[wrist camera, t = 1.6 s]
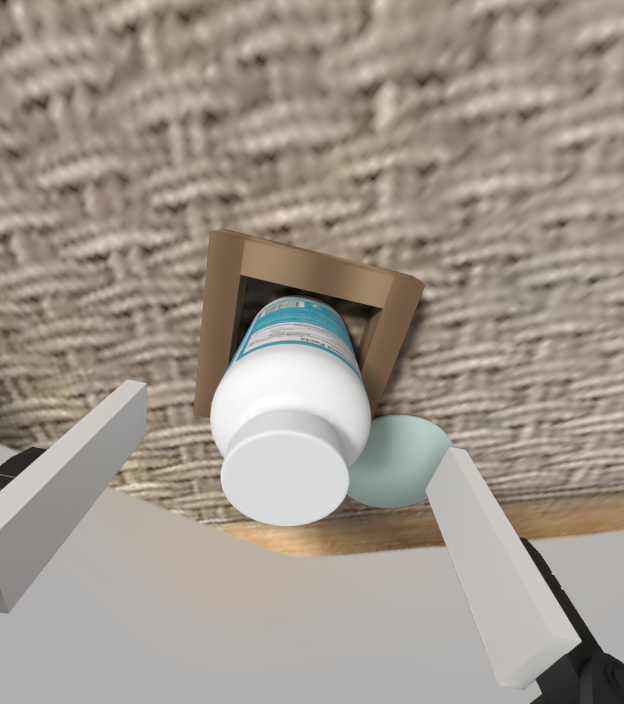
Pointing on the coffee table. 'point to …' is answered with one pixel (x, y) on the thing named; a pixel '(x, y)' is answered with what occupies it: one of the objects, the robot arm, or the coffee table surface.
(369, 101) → the coffee table surface
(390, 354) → the walnut frame
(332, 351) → the pill bottle
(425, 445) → the coaster
